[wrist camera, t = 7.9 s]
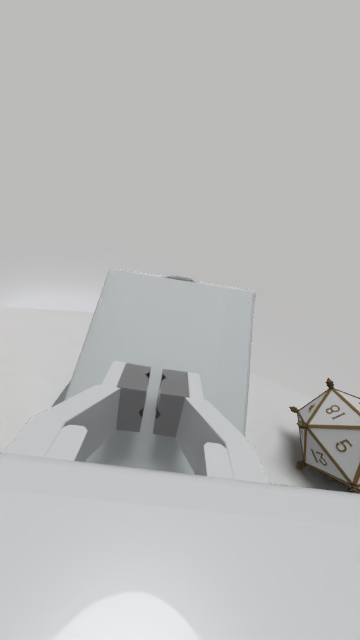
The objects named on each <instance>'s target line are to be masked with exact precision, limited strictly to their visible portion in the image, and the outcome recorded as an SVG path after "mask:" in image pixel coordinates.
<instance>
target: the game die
mask: <svg viewBox="0 0 360 640" xmlns="http://www.w3.org/2000/svg"><path fill="white" fill-rule="evenodd" d="M326 383H327V386H328V387H329V389H328V390H327V391H325V392H324V393H323V394H321V395H320V396H318V397H317V398H315V399H314V400H312V401H311V402H310V403H308V404H307V405H305V406H304V407H303V408H301V409H300V410H298V409H297V408H295V407H289V408H290V409H291V411H292V412H294V413H297V416H298V423H297V424H298V426H299V432H300V439H301V447H302V455H303V461H299V462H297V466H296V468H299V469H302V468H303V467H304V466H305V465H308V466H309V467H311V468H313V469H315V470H317V471H319V472H321V473H323V474H325V475H327V476H329V477H331V478H333V479H335V480H337V481H339V482H341V483H343V484H345V485H347V486H349V487H350V488H349V489H350V491H349V492H350V493H357V494H360V493H359V492H360V398H358V397H355V396H352V395H350V394H347V393H345V392H342V391H339V390H336V389H334V388H333V385H334V384H333V382H332V381H331V380H330V379H329V378H328V379H327V382H326Z"/></svg>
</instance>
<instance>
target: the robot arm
mask: <svg viewBox="0 0 360 640" xmlns="http://www.w3.org/2000/svg"><path fill="white" fill-rule="evenodd" d="M150 372H151V367H150V366H145V365H139V364H133V363H126V362H121V361H113V362H112V364H111V366H110V368H109V370H108V372H107V373H106V375H105V377H104V379H103V381H102V383H101V385H95V386H93V387H91V388H89V389H87V390H85V391H83V392H81V393H79V394H77V395H75V396H73V397H71V398H69V399H67V400H65V401H63V402H61V403H59V404H57V405H55V406H53V407H51V408H49V409H47V410H46V411H44V412H42V413H40V414H38V415H36V416H34V417H32V418H30V419H29V421H28V422H27V423H26V424H25V426H24V427H23V428H22V429H21V430H20V432H19V433H18V434H17V435H16V437H15V438H14V439H13V440H12V442H11V443H10V444H9V445H8V446H7V448H6V449H5V450H4V451H3V453H2V452H0V640H360V494H357V493H349V492H340V491H331V490H323V489H314V488H305V487H296V486H287V485H278V484H270V483H269V482H268V479H267V476H266V474H265V471H264V468H263V466H262V463H261V460H260V458H259V455H258V452H257V450H256V447H255V446H254V445H253V444H252V443H251V442H250V441H249V440H248V439H246V438H245V437H244V436H243V435H242V434H241V433H240V432H239V431H238V430H237V429H236V428H235V427H234V426H233V425H232V424H231V423H230V422H229V421H228V420H227V419H226V418H225V417H224V416H223V415H222V414H221V413H220V412H219V411H218V410H217V409H216V408H215V407H214V406H213V405H212V404H211V403H210V402H209V401H208V400H204V395H203V390H202V384H201V378H200V374H199V373H193V372H183V371H176V370H168V369H162V374H161V380H160V386H159V390H158V396H157V402H156V410H155V411H156V413H155V418H154V427H153V434H156V435H162V436H169V437H175V439H176V441H177V443H178V445H179V446H180V448H181V450H182V452H183V454H184V455H185V457H186V459H187V461H188V463H189V465H190V466H191V468H192V470H193V472H194V474H195V475H193V474H185V473H176V472H167V471H159V470H150V469H141V468H132V467H124V466H115V465H106V464H98V463H89V462H86V459H87V458H89V457H90V456H91V455H92V454H93V453H94V452H95V451H96V450H97V449H98V448H99V447H100V446H101V445H102V444H103V443H104V442H105V441H106V440H107V439H108V438H109V437H110V436H111V435H112V434H114V433H115V432H116V430H122V431H132V432H140V428H141V423H142V418H143V412H144V407H145V401H146V396H147V390H148V384H149V378H150Z"/></svg>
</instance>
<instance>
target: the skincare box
mask: <svg viewBox="0 0 360 640" xmlns="http://www.w3.org/2000/svg"><path fill="white" fill-rule="evenodd" d="M255 297H256V292H255V291H252V290H246V289H241V288H235V287H229V286H223V285H217V284H211V283H205V282H200V281H197V280H195V279H192V278H187V277H182V276H171V275H169V276H168V275H165V276H164V275H162V276H160V275H153V274H146V273H140V272H133V271H126V270H119V269H113V268H112V269H110V270H109V272H108V275H107V278H106V281H105V283H104V287H103V289H102V292H101V296H100V298H99V301H98V304H97V307H96V310H95V313H94V316H93V318H92V321H91V324H90V327H89V330H88V333H87V336H86V339H85V342H84V345H83V348H82V351H81V354H80V356H79V359H78V362H77V365H76V368H75V371H74V373H73V376H72V379H71V382H70V385H69V388H68V391H67V394H66V396H65V399H64V401H65V400H67V399H69V398H71V397H73V396H75V395H77V394H79V393H81V392H83V391H85V390H87V389H89V388H91V387H93V386H95V385H101V383H102V381H103V379H104V377H105V375H106V373H107V372H108V370H109V368H110V366H111V364H112V362H113V361H121V362H126V363H133V364H139V365H145V366H150V367H151V372H150V378H149V384H148V390H147V396H146V401H145V407H144V412H143V418H142V423H141V428H140V432H132V431H122V430H116V432H115V433H114V434H112V435H111V436H110V437H109V438H108V439H107V440H106V441H105V442H104V443H103V444H102V445H101V446H100V447H99V448H98V449H97V450H96V451H95V452H94V453H93V454H92V455H91V456H90V457H89V458H87V459H86V462H89V463H98V464H106V465H115V466H124V467H132V468H141V469H150V470H159V471H167V472H176V473H185V474H193V475H195V474H194V472H193V470H192V468H191V466H190V465H189V463H188V461H187V459H186V457H185V455H184V454H183V452H182V450H181V448H180V446H179V445H178V443H177V441H176V439H175V437H169V436H162V435H156V434H153V427H154V418H155V413H156V411H155V410H156V402H157V396H158V390H159V386H160V380H161V374H162V369H168V370H176V371H183V372H193V373H199V374H200V378H201V384H202V390H203V395H204V400H208V401H209V402H210V403H211V404H212V405H213V406H214V407H215V408H216V409H217V410H218V411H219V412H220V413H221V414H222V415H223V416H224V417H225V418H226V419H227V420H228V421H229V422H230V423H231V424H232V425H233V426H234V427H235V428H236V429H237V430H238V431H239V432H240V433H241V434H242V435H243V436H244V437H245V430H246V416H247V403H248V389H249V373H250V356H251V342H252V325H253V313H254V303H255Z"/></svg>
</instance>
